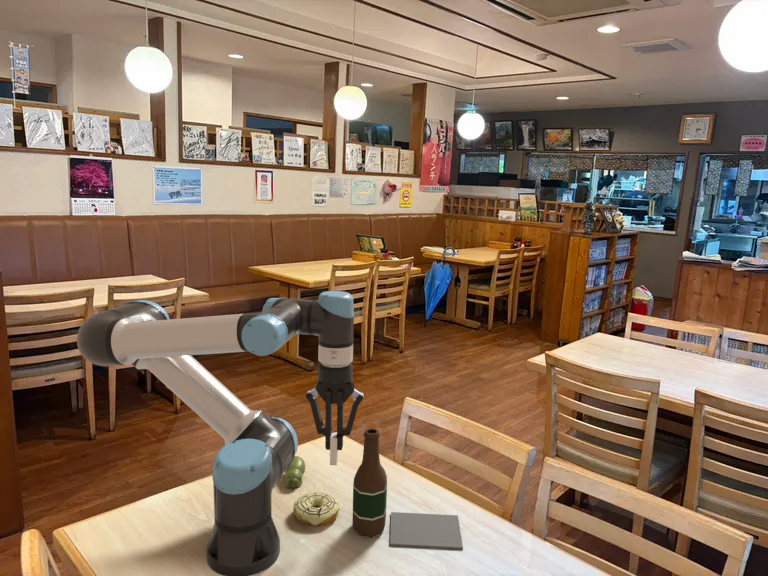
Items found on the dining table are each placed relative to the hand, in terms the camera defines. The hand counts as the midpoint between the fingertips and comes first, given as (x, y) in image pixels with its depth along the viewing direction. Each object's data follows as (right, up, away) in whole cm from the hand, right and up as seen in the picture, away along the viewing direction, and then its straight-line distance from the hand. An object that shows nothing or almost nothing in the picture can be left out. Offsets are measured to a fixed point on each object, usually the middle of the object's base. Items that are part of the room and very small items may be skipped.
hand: (333, 462), depth 126 cm
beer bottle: (+8, -16, +3) cm, 18 cm away
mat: (+21, -17, +2) cm, 27 cm away
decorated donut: (-5, -15, +7) cm, 18 cm away
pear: (-13, -12, +22) cm, 28 cm away
